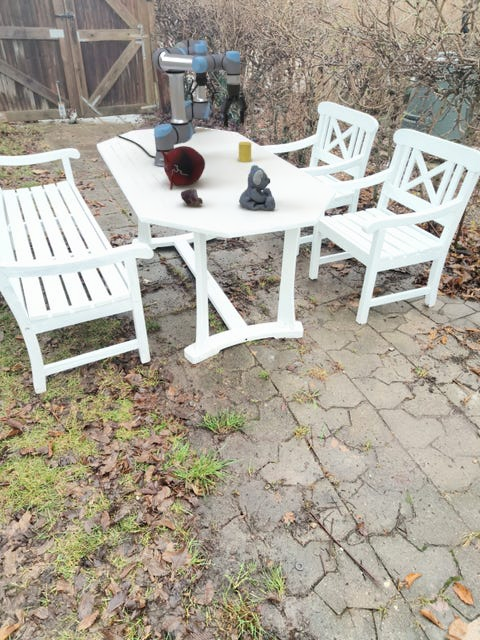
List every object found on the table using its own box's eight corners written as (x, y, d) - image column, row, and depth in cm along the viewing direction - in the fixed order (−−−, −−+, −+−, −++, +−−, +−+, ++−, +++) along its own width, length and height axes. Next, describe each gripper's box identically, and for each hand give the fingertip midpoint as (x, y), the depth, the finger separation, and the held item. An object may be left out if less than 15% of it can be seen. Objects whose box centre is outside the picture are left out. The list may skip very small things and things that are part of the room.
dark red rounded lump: (162, 151, 264) (156, 150, 240) (201, 143, 263) (199, 140, 240) (172, 188, 271) (167, 190, 247) (209, 180, 270) (208, 181, 246)
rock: (196, 202, 238) (178, 205, 233) (194, 185, 234) (176, 188, 230) (205, 205, 228) (187, 208, 224) (203, 188, 224) (185, 191, 220)
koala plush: (276, 211, 223) (277, 171, 212) (240, 212, 222) (240, 172, 211) (271, 199, 237) (272, 161, 226) (237, 200, 236) (237, 162, 225)
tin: (236, 160, 299) (236, 143, 293) (243, 158, 305) (243, 141, 298) (246, 162, 295) (246, 145, 289) (253, 160, 300) (253, 142, 294)
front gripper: (222, 86, 238) (223, 129, 250) (253, 82, 253) (253, 122, 265) (212, 85, 242) (214, 127, 254) (243, 80, 257) (243, 120, 269)
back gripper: (182, 71, 299) (185, 106, 311) (219, 70, 301) (220, 105, 313) (182, 70, 305) (184, 104, 317) (219, 69, 307) (220, 103, 319)
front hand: (234, 125), depth 259 cm, fingers open, 13 cm apart
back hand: (202, 105), depth 315 cm, fingers open, 13 cm apart
